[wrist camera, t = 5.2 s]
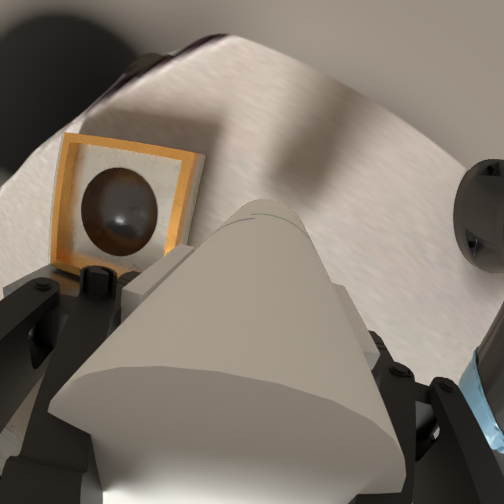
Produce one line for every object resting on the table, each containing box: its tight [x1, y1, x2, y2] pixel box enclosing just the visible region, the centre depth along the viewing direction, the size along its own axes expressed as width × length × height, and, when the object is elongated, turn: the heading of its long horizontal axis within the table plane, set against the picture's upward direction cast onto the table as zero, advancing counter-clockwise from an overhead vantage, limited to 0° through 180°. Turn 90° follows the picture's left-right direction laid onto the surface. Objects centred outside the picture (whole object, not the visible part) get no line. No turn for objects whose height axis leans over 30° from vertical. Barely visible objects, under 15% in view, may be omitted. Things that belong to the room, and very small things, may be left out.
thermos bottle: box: [0, 373, 45, 480], centre depth 28 cm, size 8×8×28 cm
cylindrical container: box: [48, 199, 406, 504], centre depth 16 cm, size 7×7×25 cm
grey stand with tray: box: [3, 132, 206, 335], centre depth 28 cm, size 18×22×18 cm
